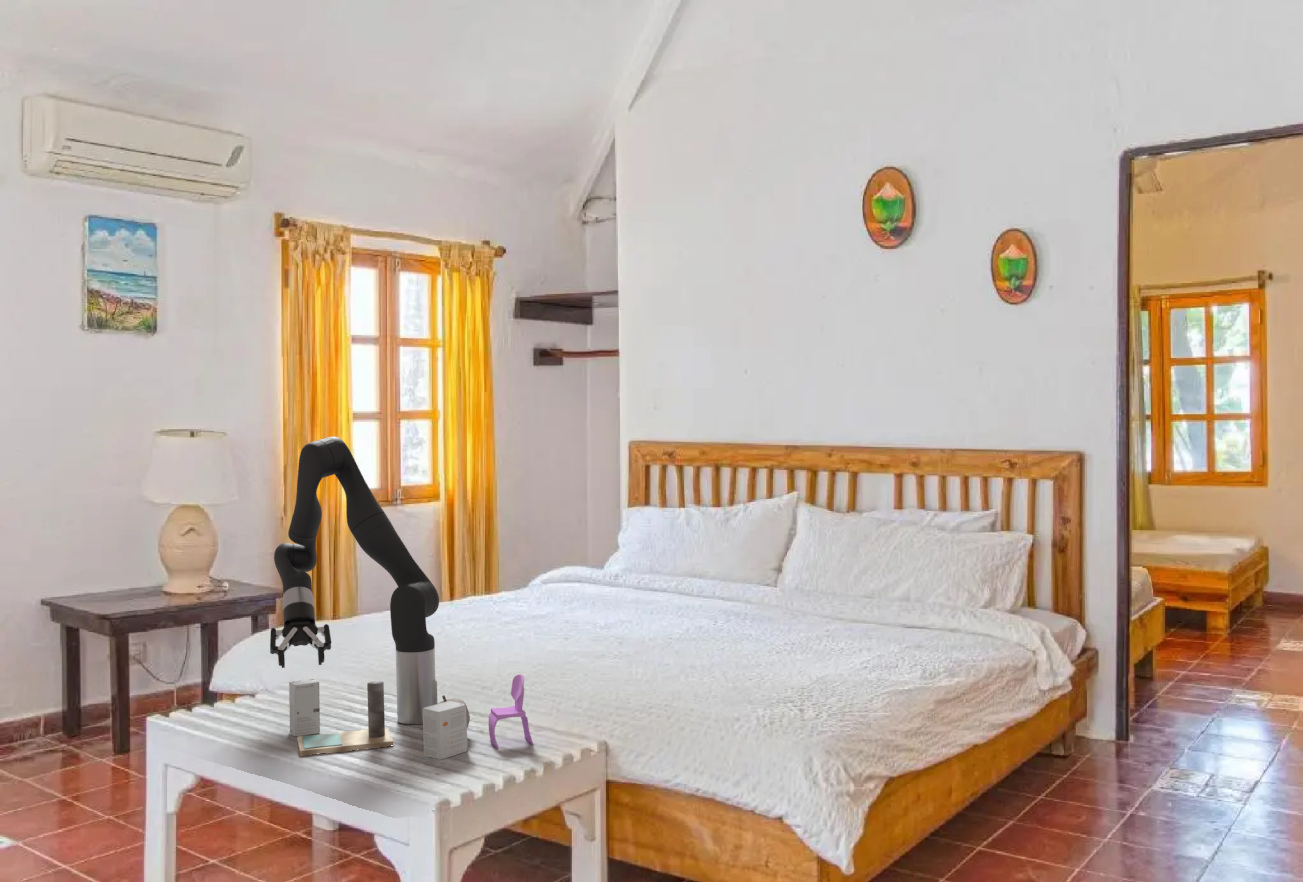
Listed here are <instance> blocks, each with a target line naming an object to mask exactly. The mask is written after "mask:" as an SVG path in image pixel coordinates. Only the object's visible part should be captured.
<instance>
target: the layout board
mask: <svg viewBox="0 0 1303 882" xmlns="http://www.w3.org/2000/svg"><path fill="white" fill-rule="evenodd" d="M384 686H385V684H384V681H382V680H381V681H380V680H374V681H369V682H367V683H366V689H367V723H368V724H367V725H368V727H367V729H360V730H350V731H341V732H340V731H339V732H331V733H321V734H320V733H318V734H311V735H304V736H297V746H298V753H299V757H306V755H307V756H313V755H312V754H317V753H326V754H333V753H343V752H351V751H352V750H355V751H358V750H357V749H364V750H367V749H366V748H374V749H381V748H380V747H383V748H387V747H386V746H391V745H393V746H394V740H393V737H392V735H391V732H390V730H389V728H388V727H385V726H386V725H385V724H386V723H385V720H386V719H385V690H384V689H385V687H384ZM352 752H353V751H352ZM317 755H318V754H317Z"/></svg>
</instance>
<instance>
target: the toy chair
mask: <svg viewBox="0 0 1303 882" xmlns="http://www.w3.org/2000/svg"><path fill="white" fill-rule="evenodd" d="M511 683H512V684H511V689H510V695H511V697H512V699H513V700H514V705H512V706H506V707H491V708H490V713H489V715H488V732H489V733H488V734H489V739H490V740H489V741H490V742H491V744H492V745H493V746H494V747H495V748H496V749H499V746H498V742H497V739H496V735H495V734H496V731H495V730H496V726H497V723H498V721H501V720H503V719H509V718H520V719H521V722H522V728H523V734H524V738H525V739H526V740H527V741H528V742H529V743H530V744H531V745H534V742H533V739H532V736H531V735H532V734H531V732H530V726H529V719H528V716H526V715H527V714H526V711H525V710H523V707H524V706H523V705H524V696H525V688H524V686H525V675H523V674H517V675H515V676H514V677H513V679H512V682H511Z"/></svg>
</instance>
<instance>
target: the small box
mask: <svg viewBox="0 0 1303 882" xmlns="http://www.w3.org/2000/svg"><path fill="white" fill-rule="evenodd" d="M439 703H440V702H439ZM466 705H467V704H461V703H457V702H453V701H447V702H444V703H440V704H436V705H433V706H429V707H425V708H423V723H422V737H423V739H422V740H423V756H424V755H425V757H427V756H428V758H431V757H434V758H433V759H435V758H437V759H436V760H440V761H441V760H444V759H447V758H451V757H453V756H457V755H460V754H462V753H465V752H468V728H467V718H466Z"/></svg>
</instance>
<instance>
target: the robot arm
mask: <svg viewBox="0 0 1303 882" xmlns="http://www.w3.org/2000/svg"><path fill="white" fill-rule="evenodd" d="M333 475H334V476H335V477H336V478H337V480H338V482H339V483H340V485H341V487H342V489H343V491H344V493H345V494H344V495H345V500H346V506H345V507H346V513H345V514H346V523H347V527H348V529H349V532H350V533H351V534H352V536H353V537H354V539H355V541H356V543H358V546H360V548H361V550H362V551H363V552H364V553H365V554H366V555H367V556H369V557H370V558H371V559H372V560H373V561H375V562H376V563H377V564H379V566H381V567H382V568H383V569H384V570H385V571H386V572H388V574H389V575H390V576H391V578H392V579H393V580H394V582H395V583H396V585H397V587H396V588H395V589H394V590H393V592H392V594H391V597H390V602H389V603H390V604H389V607H390V608H389V609H390V624H391V625H390V627H391V636H392V639H393V641H394V644H395V645H394V646H395V676H396V677H395V678H396V680H395V681H396V708H397V709H396V712H397V713H396V716H397V722H398V723H400V724H404V725H405V724H406V725H420V724H422V725H423V708H425V707H429V706H433V705H436V704H438V703H439V702H438V681H437V679H436V649H435V645H436V644H435V643H436V641H435V637H434V636H433V634H431V633H429V632H428V629H427V618H428V617H431V616H432V615H433V614H435V613H436V612H437V610H438V608H439V606H440V596H439V593H438V591H437V588H436V587H435V585H434V584H433V583H432V581H431V580H430V578H428V576H427V575H426V573H425V572H424V571H423V570H422V568H421V567H420V566H419V565H418V563H417V562H416V560H415V559H414V557H413V556H412V555H411V553H410V552H409V549H408V548H407V546H406V545H405V544H404V542H403V540H402V539H401V537H400V536H399V534H398V533H397V531H396V529H395V527H394V526H393V523H392V522H391V520H390V519H389V517H388V515H387V514H386V513H385V511H384V509H383V508H382V506H381V505H380V503H379V502H378V500H377V499H376V497H375V496H374V493H373V492H372V490H371V489H370V487H369V485H368V483H367V482H366V480H365V478H364V476H363V474H362V472H361V470H360V468H359V465H358V464H357V461H356V460H355V457H354V456H353V454H352V451H351V450H350V448H349V447H348V445H347V444H346V442H345V441H343V440H342V439H341V438H340V437H338V436H328V437H325V438H322V439H318V440H314V441H310V442H308V443H307V444H304V446H303V447H302V448H301V451H300V454H299V459H298V467H297V481H296V498H295V504H294V509H293V514H292V516H291V520H290V524H289V528H288V533H287V535H288V536H287V537H288V538H289V540H290V541H291V542H293V543H290V542H289V543H288V542H283V543H280V544H278V546H277V547H276V548H275V551H274V553H273V561H274V566H275V568H276V570H277V572H278V574H279V577H280V580H281V583H282V595H283V596H282V597H283V598H282V615H283V616H282V617H283V618H282V619H283V620H282V621H283V628H282V629H277V628H275V627H272V628H271V629H270V640H269V641H270V642H269V651H270V652H269V653H270V654H271V655H274V654H275V655H277V658H278V659H277V661H278V662H277V664H278V666H279V667H281V669H285V667H286V666H285V665H286V663H285V662H286V659H285V653H286V652H287V651H288V650H289V649H290V648H291V647H292V646H293V647H300V646H303V647H305V646H308V645H310V646H311V647H312V648H313V649H315V650H316V651H317V659H318V661H317V662H318V666H322V664H323V663H324V662H325V651H329V650H331V649H332V637H331V630H330V625H329V624H328V623H325V624H324V625H323V626H319V627H317V624H316V613H315V611H316V609H315V599H314V595H313V584H312V577H311V575H310V574H309V573H308V572H311V571H313V569H314V568H315V567H316V565H317V561H318V555H317V536H318V534H319V528H320V525H321V521H322V518H323V517H322V516H323V513H322V511H323V509H322V506H321V503H320V501H319V499H318V495H317V493H318V492H317V491H318V489H319V484H320V483H321V481H322V479H324V478H328V477H330V476H333ZM318 634H320V635H321V636H322V637H323V638H324V642H323V641H321V640H320V639H319V637H318V636H317V635H318ZM281 636H282V637H283V638H284V639H283V640H282V642H281V643H280V645H279V646H277V645H276V644H277V643H276V642H277V640H279V639H280V637H281Z"/></svg>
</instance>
